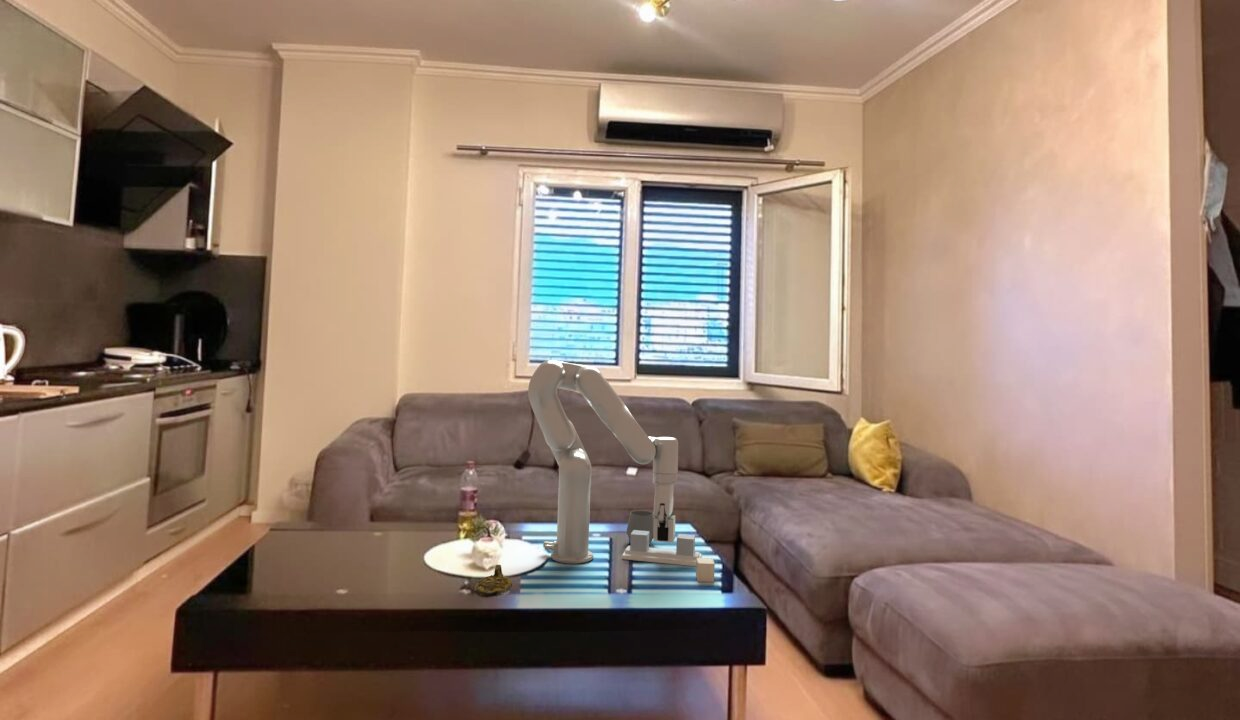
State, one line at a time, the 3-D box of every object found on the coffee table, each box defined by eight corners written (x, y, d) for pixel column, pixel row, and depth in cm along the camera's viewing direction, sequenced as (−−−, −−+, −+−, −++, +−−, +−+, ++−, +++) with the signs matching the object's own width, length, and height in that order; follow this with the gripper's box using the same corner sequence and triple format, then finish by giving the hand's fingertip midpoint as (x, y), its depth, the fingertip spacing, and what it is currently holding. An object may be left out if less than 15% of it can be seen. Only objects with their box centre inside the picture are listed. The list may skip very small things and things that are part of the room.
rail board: (622, 559, 203) (622, 535, 203) (627, 550, 212) (628, 527, 211) (698, 566, 198) (699, 541, 198) (701, 557, 207) (702, 534, 207)
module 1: (653, 540, 203) (653, 517, 203) (655, 537, 208) (655, 514, 208) (673, 542, 202) (673, 519, 202) (674, 538, 206) (675, 515, 206)
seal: (505, 603, 167) (514, 582, 182) (508, 584, 167) (517, 564, 182) (468, 597, 167) (480, 577, 182) (471, 578, 167) (483, 560, 182)
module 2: (697, 581, 185) (698, 563, 185) (695, 575, 190) (696, 557, 190) (714, 582, 185) (714, 563, 185) (711, 576, 190) (712, 558, 190)
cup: (655, 548, 215) (656, 517, 215) (626, 547, 216) (627, 515, 216) (654, 540, 225) (655, 510, 225) (626, 539, 225) (627, 509, 225)
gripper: (656, 472, 214) (655, 530, 214) (648, 482, 197) (647, 544, 197) (680, 474, 212) (679, 532, 212) (674, 483, 196) (672, 546, 196)
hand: (663, 537), depth 205 cm, fingers closed on module 1, 4 cm apart
